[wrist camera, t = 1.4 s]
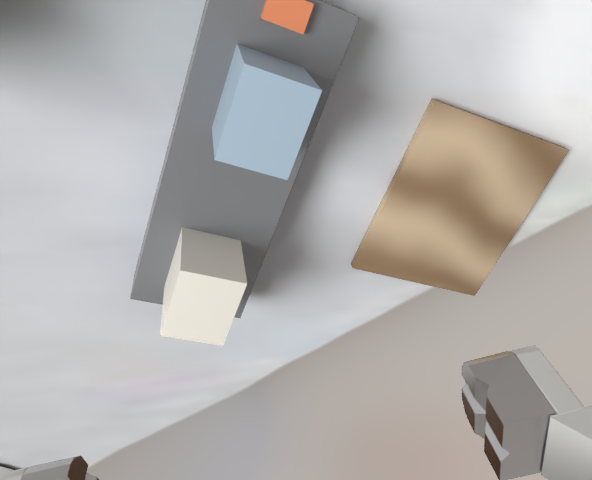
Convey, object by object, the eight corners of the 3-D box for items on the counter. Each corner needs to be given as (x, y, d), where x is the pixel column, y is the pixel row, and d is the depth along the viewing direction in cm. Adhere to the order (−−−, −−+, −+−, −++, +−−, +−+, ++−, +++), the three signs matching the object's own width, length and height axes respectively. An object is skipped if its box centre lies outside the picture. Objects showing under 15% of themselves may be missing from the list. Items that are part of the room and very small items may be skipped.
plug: (218, 281, 38) (223, 345, 32) (165, 271, 37) (160, 335, 31) (238, 225, 36) (247, 283, 30) (182, 212, 35) (180, 270, 29)
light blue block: (270, 135, 33) (287, 180, 27) (210, 117, 31) (214, 160, 26) (297, 60, 31) (322, 90, 25) (234, 37, 29) (244, 63, 23)
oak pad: (471, 291, 44) (474, 295, 44) (350, 263, 41) (352, 268, 40) (563, 147, 38) (568, 150, 38) (432, 98, 34) (435, 101, 34)
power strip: (237, 293, 40) (240, 323, 37) (134, 274, 38) (129, 304, 35) (345, 10, 31) (362, 19, 28) (217, -43, 28) (220, -39, 25)
